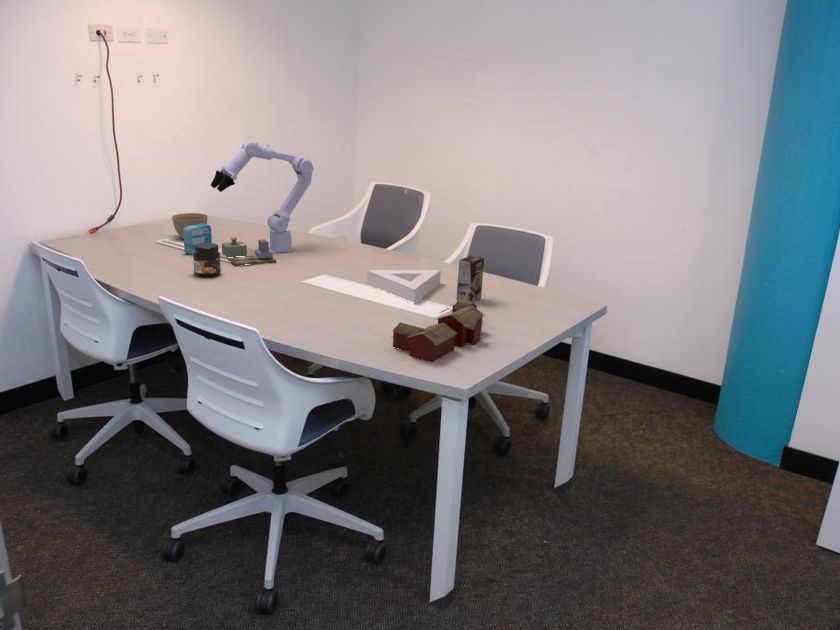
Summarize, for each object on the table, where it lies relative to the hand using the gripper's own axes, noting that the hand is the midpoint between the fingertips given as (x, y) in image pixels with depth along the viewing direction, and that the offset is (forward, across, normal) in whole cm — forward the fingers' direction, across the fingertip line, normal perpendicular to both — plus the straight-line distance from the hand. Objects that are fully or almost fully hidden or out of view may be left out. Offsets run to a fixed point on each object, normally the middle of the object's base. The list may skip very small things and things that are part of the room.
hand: (215, 188), depth 316 cm
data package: (+25, -10, +18) cm, 32 cm away
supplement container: (+30, +26, +11) cm, 41 cm away
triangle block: (-12, +76, +51) cm, 92 cm away
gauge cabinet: (+16, +2, +26) cm, 31 cm away
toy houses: (-4, +128, +40) cm, 134 cm away
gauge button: (+14, +2, +24) cm, 28 cm away
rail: (+14, +15, +28) cm, 34 cm away
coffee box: (-25, +100, +62) cm, 121 cm away
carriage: (+9, +16, +30) cm, 35 cm away
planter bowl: (+22, -35, +22) cm, 47 cm away
